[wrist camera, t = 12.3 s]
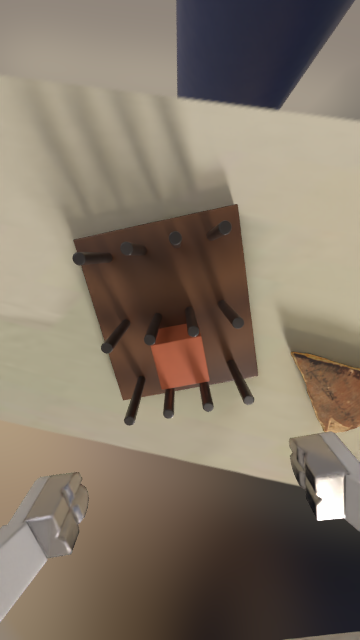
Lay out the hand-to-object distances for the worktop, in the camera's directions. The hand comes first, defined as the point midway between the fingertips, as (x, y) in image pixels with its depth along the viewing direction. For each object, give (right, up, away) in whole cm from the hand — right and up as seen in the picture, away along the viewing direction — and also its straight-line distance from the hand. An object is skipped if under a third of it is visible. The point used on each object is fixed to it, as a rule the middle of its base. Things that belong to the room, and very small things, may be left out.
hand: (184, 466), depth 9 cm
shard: (+15, -2, +16) cm, 22 cm away
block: (0, +3, +13) cm, 14 cm away
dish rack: (-1, +6, +13) cm, 15 cm away
